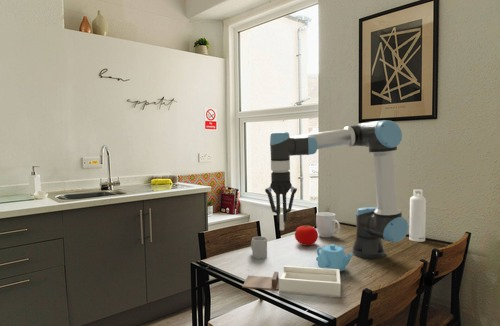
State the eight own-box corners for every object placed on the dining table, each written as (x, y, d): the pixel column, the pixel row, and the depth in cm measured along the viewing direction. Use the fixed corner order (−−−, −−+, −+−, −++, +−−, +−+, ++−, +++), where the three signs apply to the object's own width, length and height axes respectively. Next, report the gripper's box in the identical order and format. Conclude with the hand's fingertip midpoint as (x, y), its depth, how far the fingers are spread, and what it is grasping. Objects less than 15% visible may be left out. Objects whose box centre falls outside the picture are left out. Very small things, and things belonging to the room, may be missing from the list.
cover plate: (281, 280, 142) (281, 270, 142) (278, 291, 132) (278, 281, 131) (248, 277, 145) (248, 268, 145) (242, 288, 134) (242, 278, 134)
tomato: (321, 244, 187) (321, 225, 187) (305, 249, 180) (305, 229, 180) (307, 240, 197) (307, 221, 196) (290, 243, 190) (290, 224, 189)
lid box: (339, 282, 138) (339, 269, 138) (340, 297, 125) (340, 283, 124) (284, 277, 143) (284, 265, 143) (279, 292, 130) (279, 278, 129)
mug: (344, 237, 202) (345, 214, 201) (334, 241, 194) (334, 217, 193) (323, 232, 212) (323, 211, 211) (312, 236, 205) (312, 214, 204)
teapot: (354, 276, 143) (354, 249, 143) (321, 277, 143) (321, 250, 142) (343, 263, 159) (343, 239, 158) (313, 264, 158) (313, 240, 157)
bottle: (425, 238, 196) (427, 189, 194) (424, 242, 189) (425, 191, 187) (410, 236, 200) (411, 188, 198) (408, 240, 194) (409, 190, 192)
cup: (258, 260, 165) (258, 241, 164) (245, 254, 173) (245, 237, 172) (270, 256, 169) (270, 238, 169) (257, 251, 177) (257, 234, 177)
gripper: (297, 170, 141) (299, 227, 143) (265, 170, 144) (267, 226, 146) (296, 171, 134) (297, 232, 135) (262, 172, 136) (264, 231, 138)
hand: (282, 229), depth 140 cm, fingers closed
